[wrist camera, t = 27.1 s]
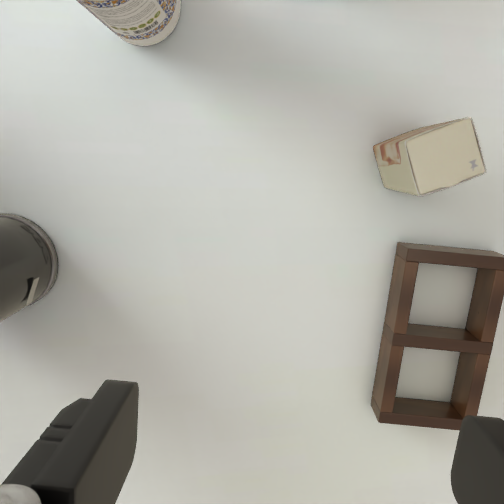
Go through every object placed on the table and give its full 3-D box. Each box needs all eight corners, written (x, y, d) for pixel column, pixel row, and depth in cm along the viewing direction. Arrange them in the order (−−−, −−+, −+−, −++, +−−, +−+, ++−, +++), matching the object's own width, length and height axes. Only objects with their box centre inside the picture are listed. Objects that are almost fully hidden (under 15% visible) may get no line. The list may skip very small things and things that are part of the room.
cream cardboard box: (423, 125, 40) (476, 113, 30) (435, 171, 41) (491, 174, 31) (368, 145, 40) (402, 139, 30) (381, 189, 41) (419, 199, 31)
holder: (459, 413, 46) (473, 432, 42) (370, 404, 46) (378, 422, 42) (493, 251, 42) (512, 258, 39) (397, 241, 42) (408, 248, 39)
